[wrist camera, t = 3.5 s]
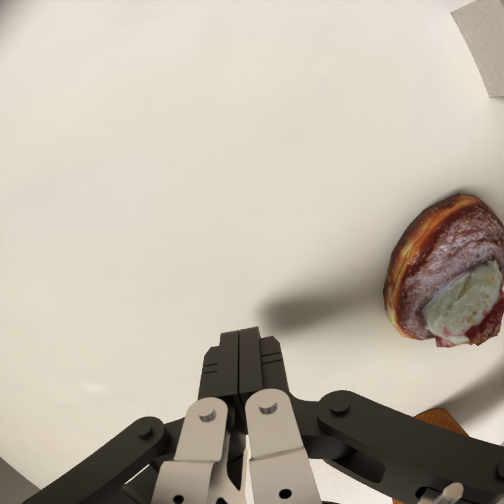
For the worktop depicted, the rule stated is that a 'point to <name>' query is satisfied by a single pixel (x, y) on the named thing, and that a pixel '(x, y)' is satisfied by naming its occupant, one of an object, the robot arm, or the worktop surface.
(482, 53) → the gray block
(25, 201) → the worktop surface
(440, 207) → the pastry
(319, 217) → the worktop surface
